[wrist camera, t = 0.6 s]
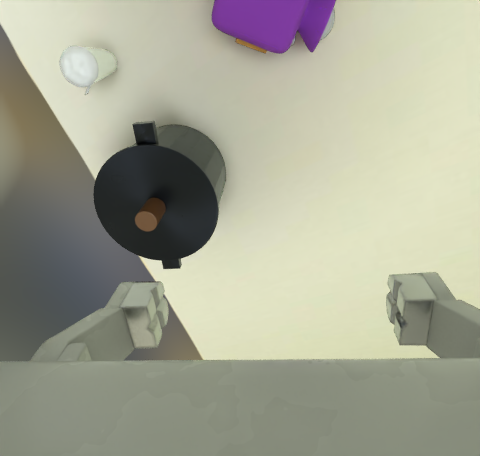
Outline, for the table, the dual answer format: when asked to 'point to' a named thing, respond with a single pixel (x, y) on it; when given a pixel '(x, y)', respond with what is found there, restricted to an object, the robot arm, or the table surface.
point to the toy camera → (274, 22)
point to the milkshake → (86, 65)
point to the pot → (190, 145)
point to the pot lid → (156, 202)
